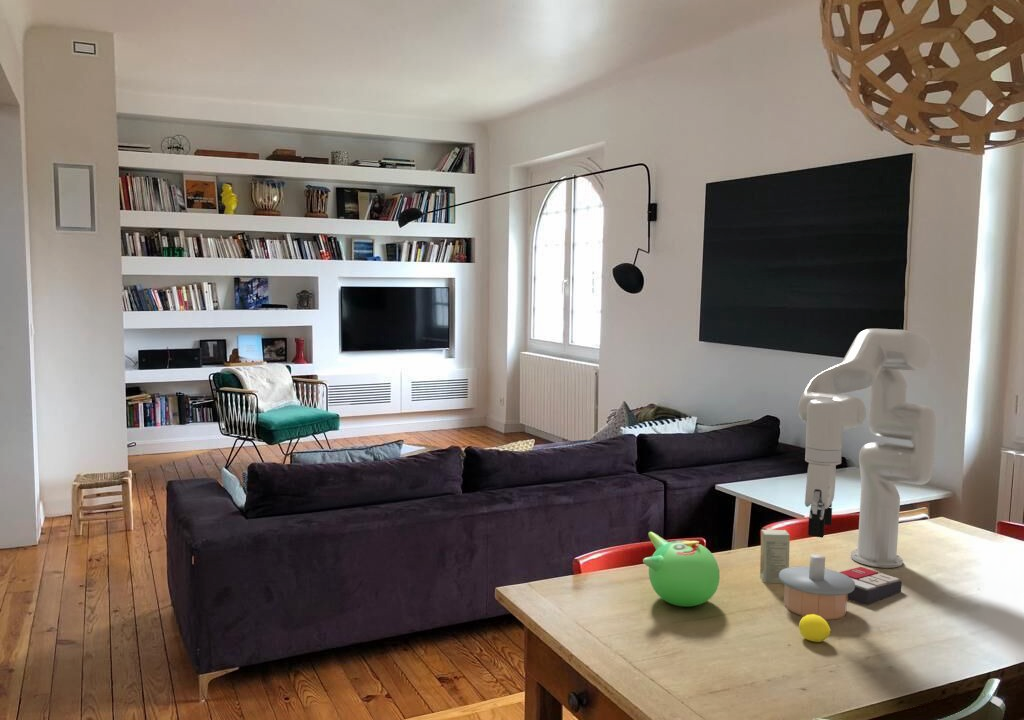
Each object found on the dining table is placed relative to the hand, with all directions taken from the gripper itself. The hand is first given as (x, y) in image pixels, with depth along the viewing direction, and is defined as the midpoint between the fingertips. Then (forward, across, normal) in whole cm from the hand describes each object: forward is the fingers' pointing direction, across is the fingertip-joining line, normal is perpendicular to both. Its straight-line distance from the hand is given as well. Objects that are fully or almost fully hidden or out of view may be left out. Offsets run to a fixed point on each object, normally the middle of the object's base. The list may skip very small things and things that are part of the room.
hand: (819, 530), depth 185 cm
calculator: (+19, -16, +8) cm, 26 cm away
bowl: (+18, +1, 0) cm, 18 cm away
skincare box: (+18, -12, -12) cm, 25 cm away
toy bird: (+18, +14, -27) cm, 35 cm away
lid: (+12, +1, 0) cm, 12 cm away
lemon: (+18, +19, +3) cm, 26 cm away
